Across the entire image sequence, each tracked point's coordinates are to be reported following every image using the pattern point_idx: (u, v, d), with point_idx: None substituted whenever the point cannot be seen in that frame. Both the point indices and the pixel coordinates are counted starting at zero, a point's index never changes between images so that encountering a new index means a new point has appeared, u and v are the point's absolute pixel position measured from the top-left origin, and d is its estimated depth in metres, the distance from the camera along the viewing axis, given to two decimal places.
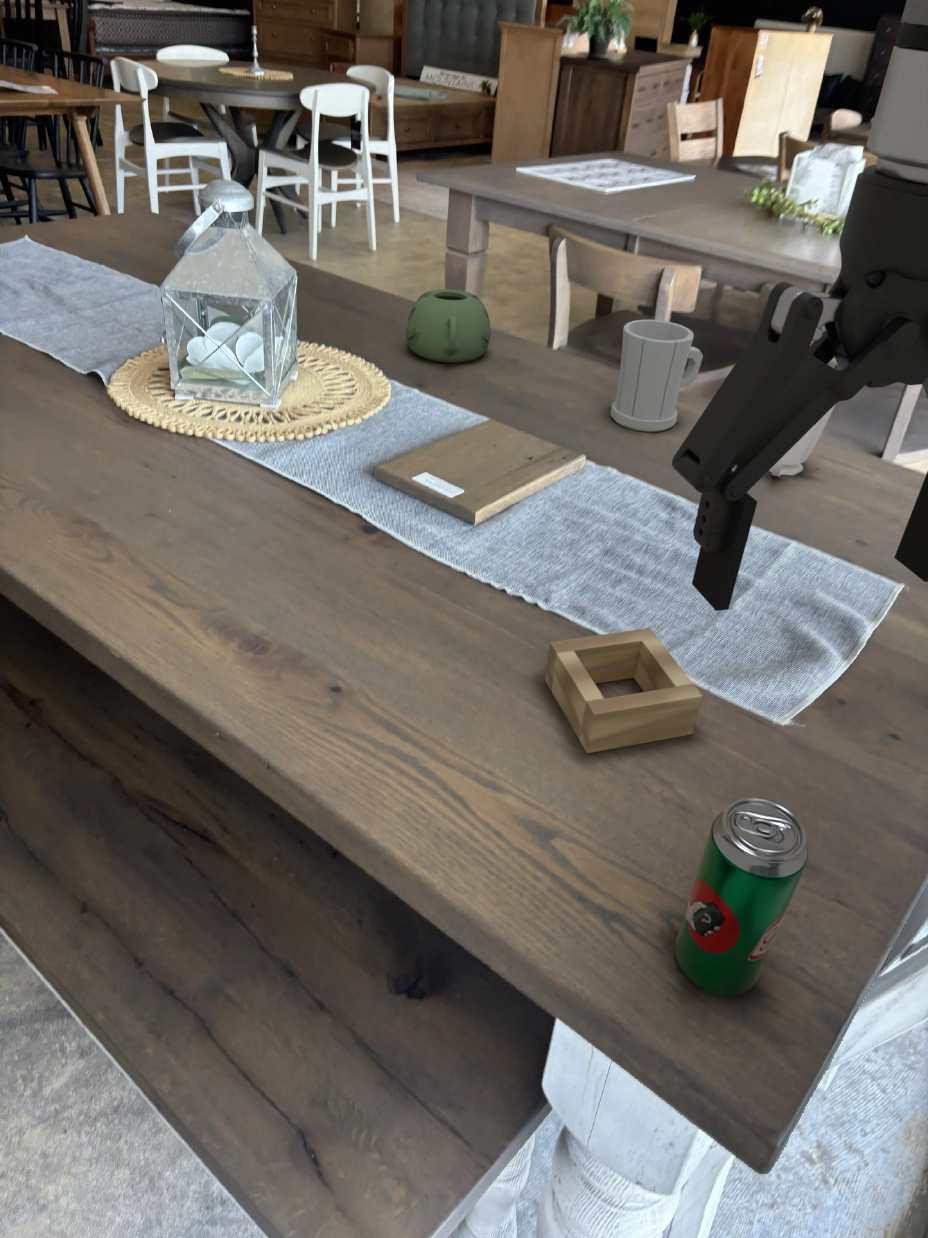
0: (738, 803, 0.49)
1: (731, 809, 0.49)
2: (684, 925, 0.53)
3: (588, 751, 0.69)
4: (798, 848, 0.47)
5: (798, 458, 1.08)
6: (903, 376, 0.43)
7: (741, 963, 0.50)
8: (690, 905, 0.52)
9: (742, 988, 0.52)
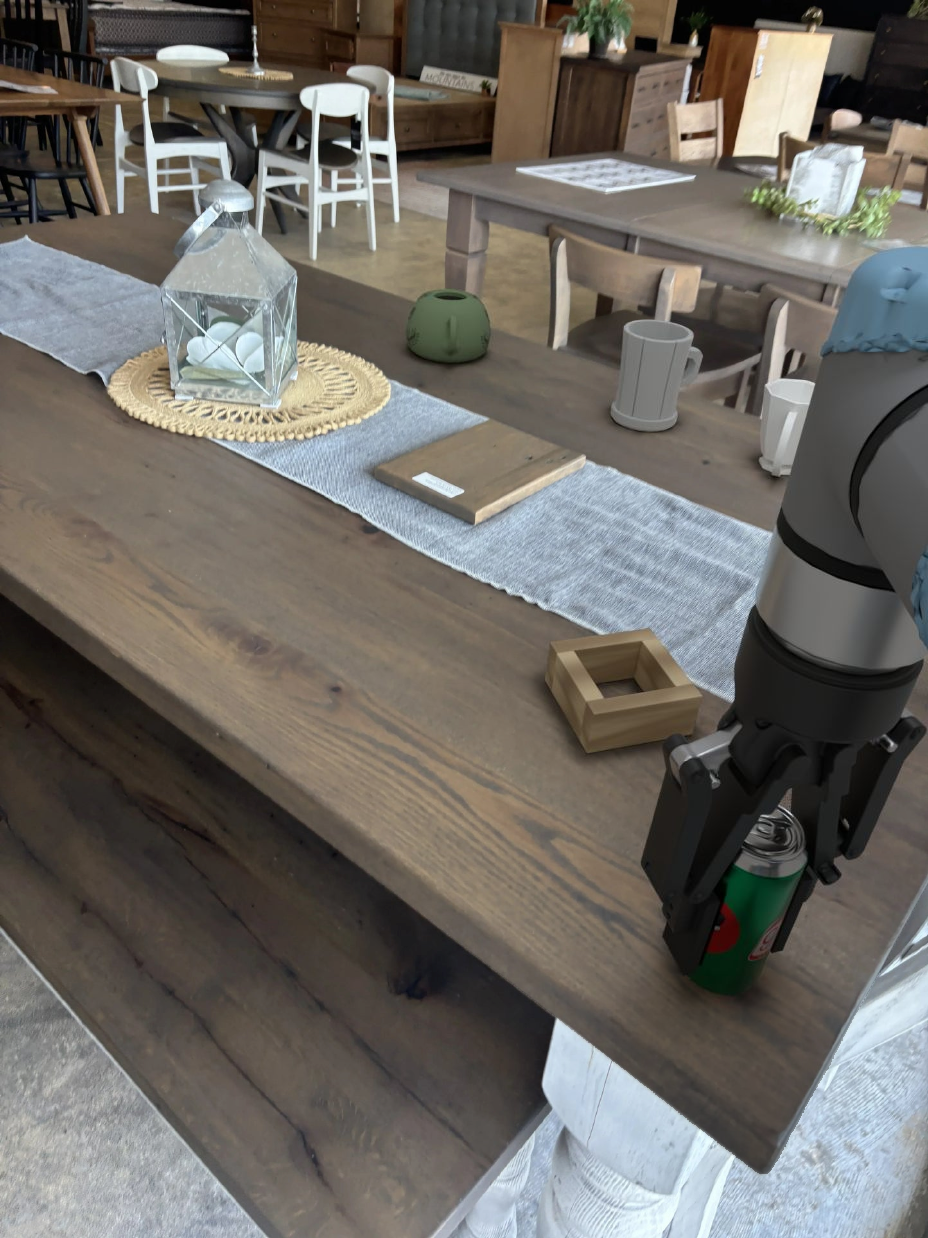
0: None
1: None
2: None
3: (588, 751, 0.69)
4: (799, 848, 0.47)
5: None
6: (800, 782, 0.44)
7: (741, 963, 0.50)
8: None
9: (742, 988, 0.52)
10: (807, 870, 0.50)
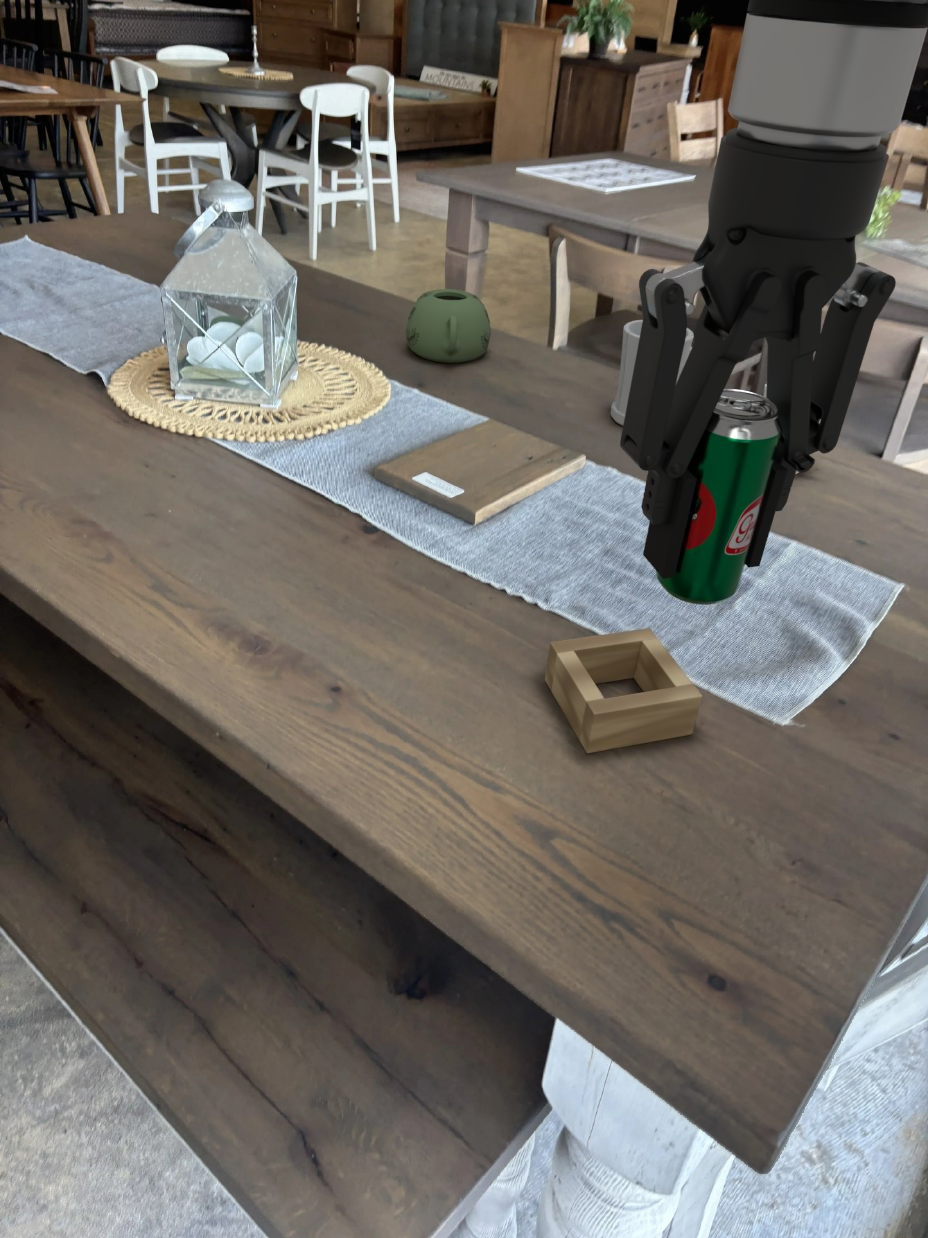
0: None
1: None
2: None
3: (588, 751, 0.69)
4: (772, 415, 0.48)
5: None
6: (773, 330, 0.46)
7: (718, 557, 0.52)
8: None
9: (719, 593, 0.54)
10: (782, 465, 0.52)
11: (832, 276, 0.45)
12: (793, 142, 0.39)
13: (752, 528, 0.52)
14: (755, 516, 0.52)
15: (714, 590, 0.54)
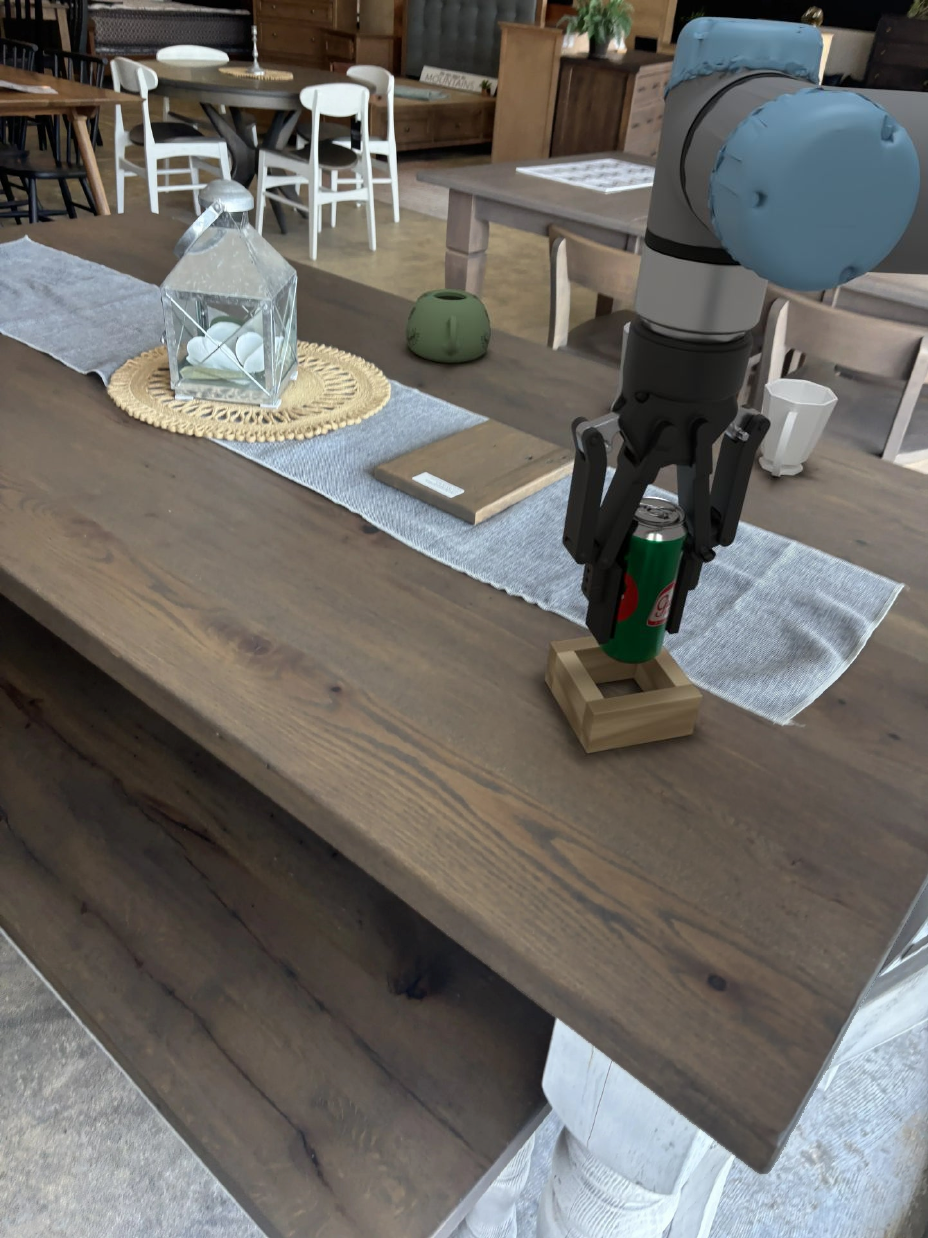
0: None
1: None
2: None
3: (588, 751, 0.69)
4: (679, 521, 0.62)
5: (798, 458, 1.08)
6: (676, 460, 0.60)
7: (641, 628, 0.66)
8: None
9: (644, 655, 0.67)
10: (692, 556, 0.65)
11: (719, 420, 0.59)
12: (678, 336, 0.53)
13: (668, 605, 0.66)
14: (670, 596, 0.65)
15: (640, 653, 0.67)
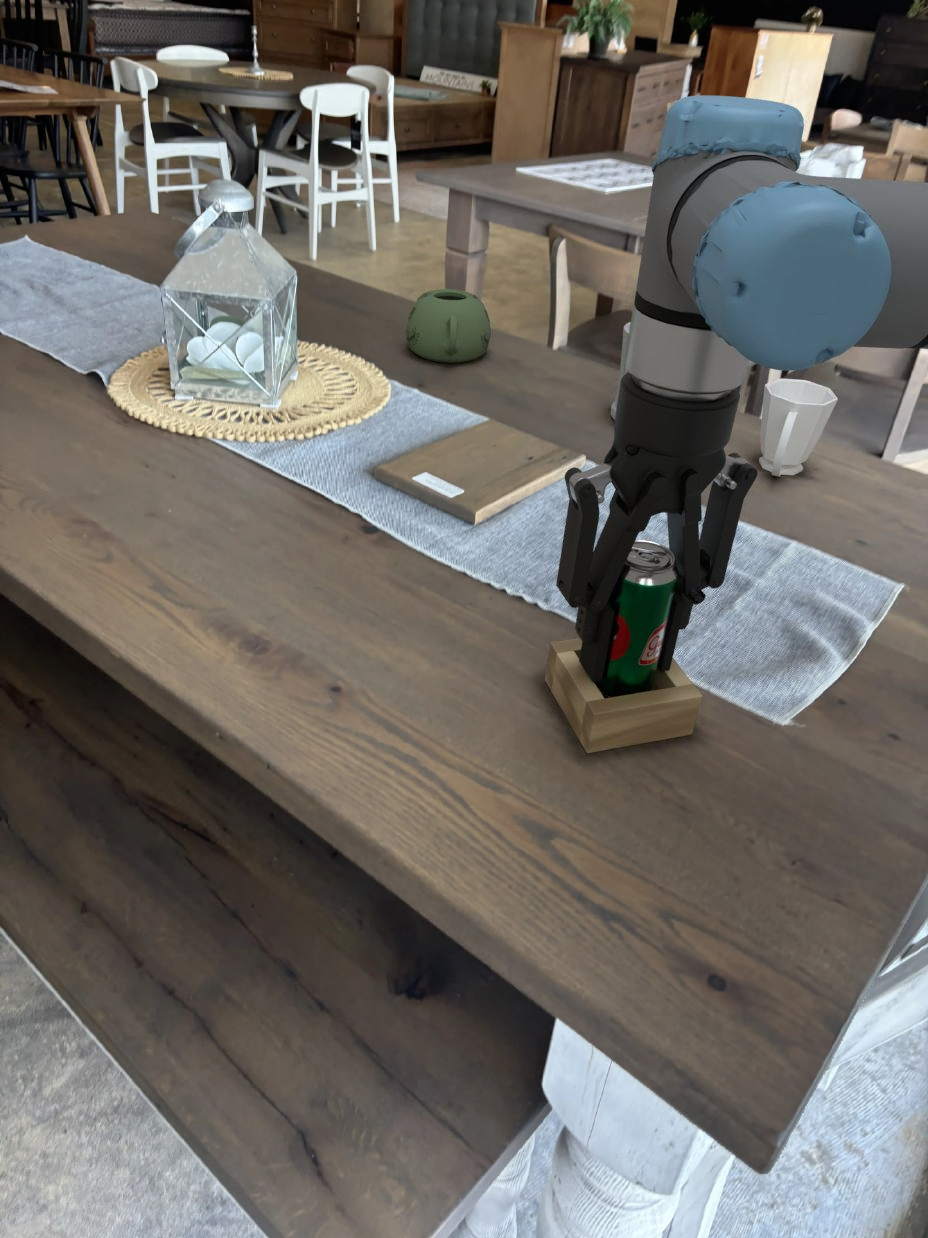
0: None
1: None
2: None
3: (588, 751, 0.69)
4: (669, 566, 0.64)
5: (798, 458, 1.08)
6: (666, 508, 0.62)
7: (633, 667, 0.68)
8: None
9: (637, 692, 0.69)
10: (682, 597, 0.67)
11: (708, 471, 0.61)
12: (667, 395, 0.55)
13: (660, 645, 0.68)
14: (661, 636, 0.67)
15: (632, 690, 0.69)
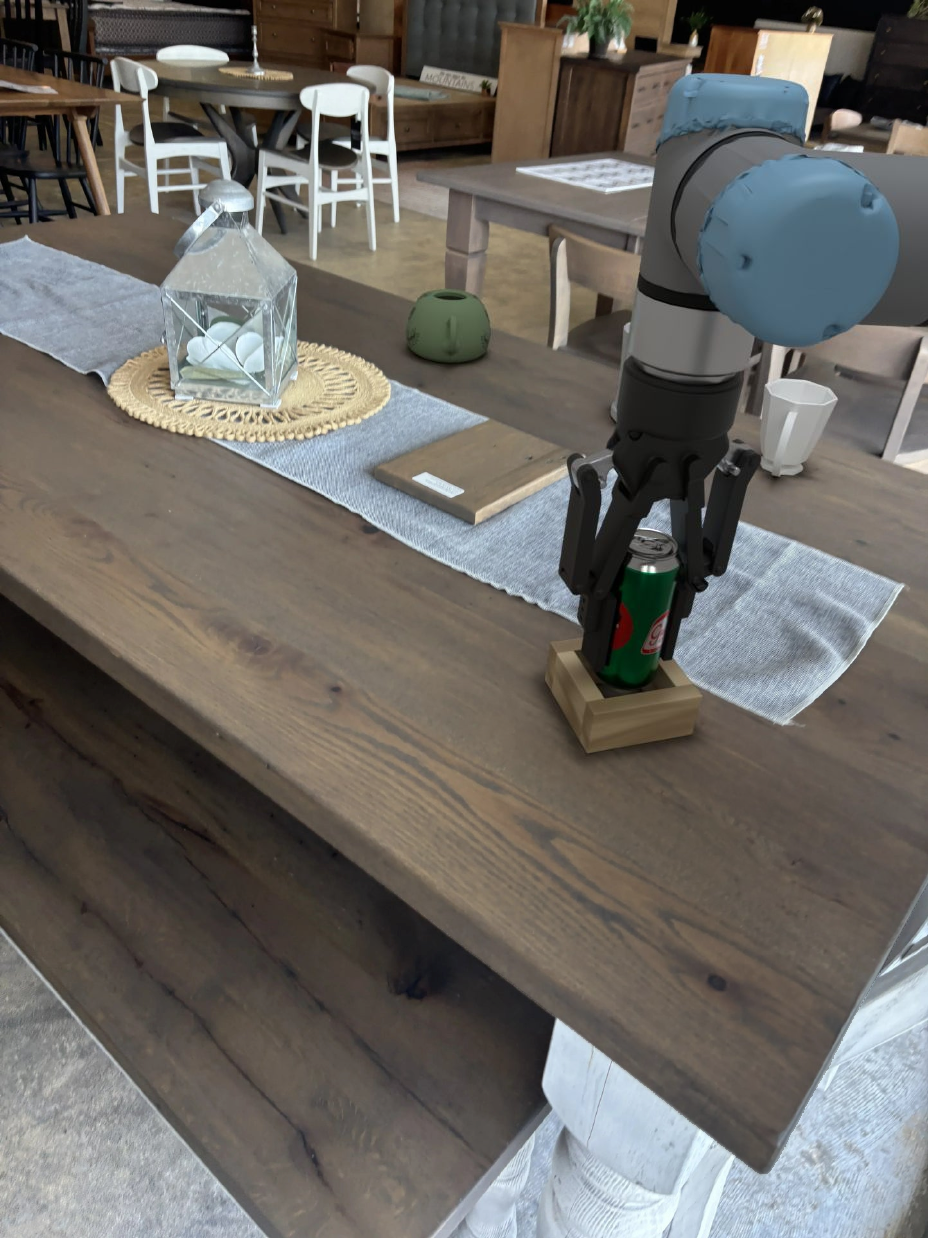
0: None
1: None
2: None
3: (588, 751, 0.69)
4: (672, 553, 0.63)
5: (798, 458, 1.08)
6: (669, 494, 0.61)
7: (636, 656, 0.67)
8: None
9: (639, 682, 0.69)
10: (685, 585, 0.67)
11: (711, 456, 0.60)
12: (670, 378, 0.54)
13: (662, 634, 0.67)
14: (664, 625, 0.67)
15: (635, 680, 0.69)
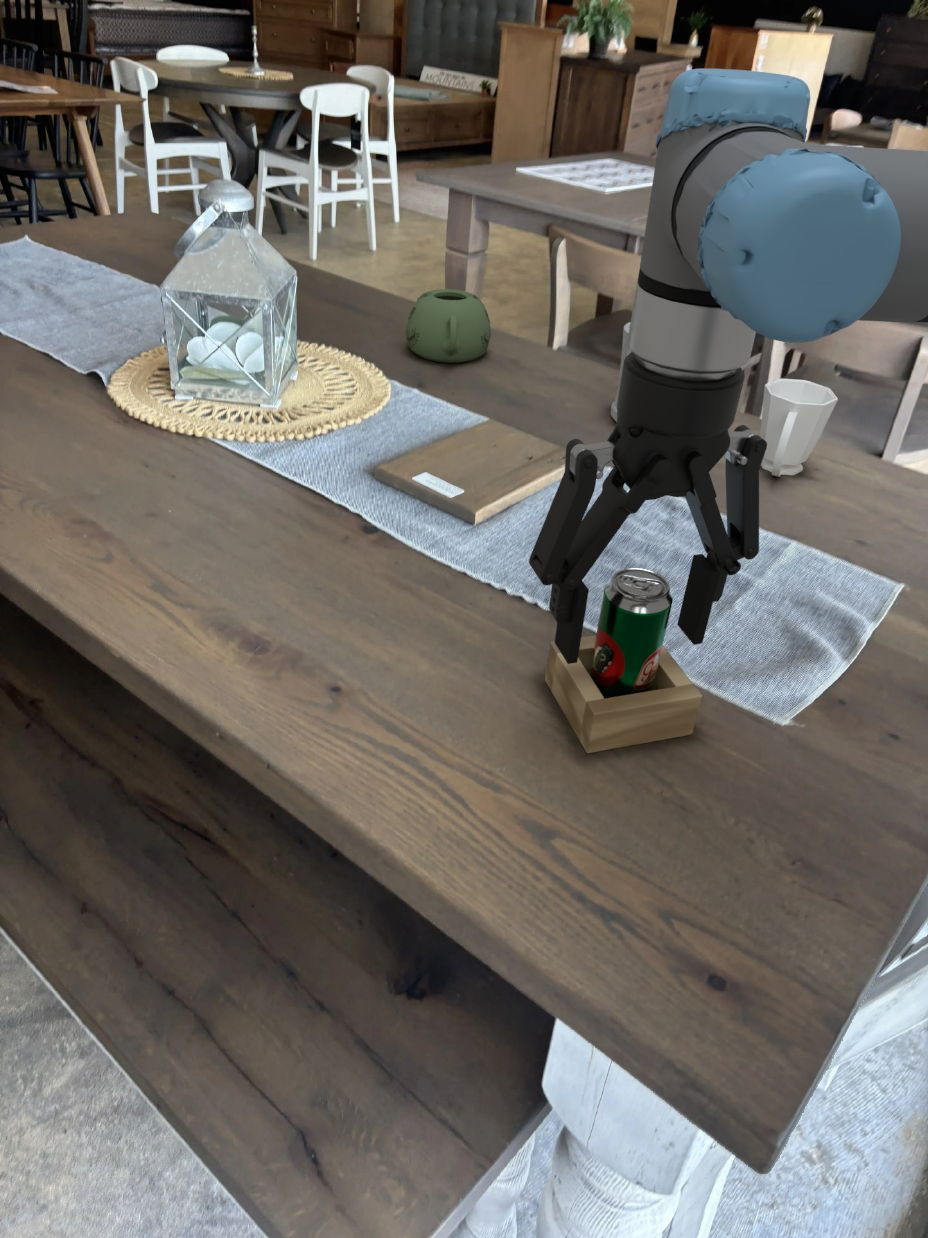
0: (624, 570, 0.68)
1: (618, 574, 0.67)
2: (590, 672, 0.71)
3: (588, 751, 0.69)
4: (663, 594, 0.65)
5: (798, 458, 1.08)
6: (669, 492, 0.61)
7: (628, 692, 0.69)
8: (593, 654, 0.70)
9: None
10: (716, 568, 0.67)
11: (713, 454, 0.60)
12: (671, 374, 0.54)
13: (654, 670, 0.69)
14: (655, 662, 0.69)
15: None
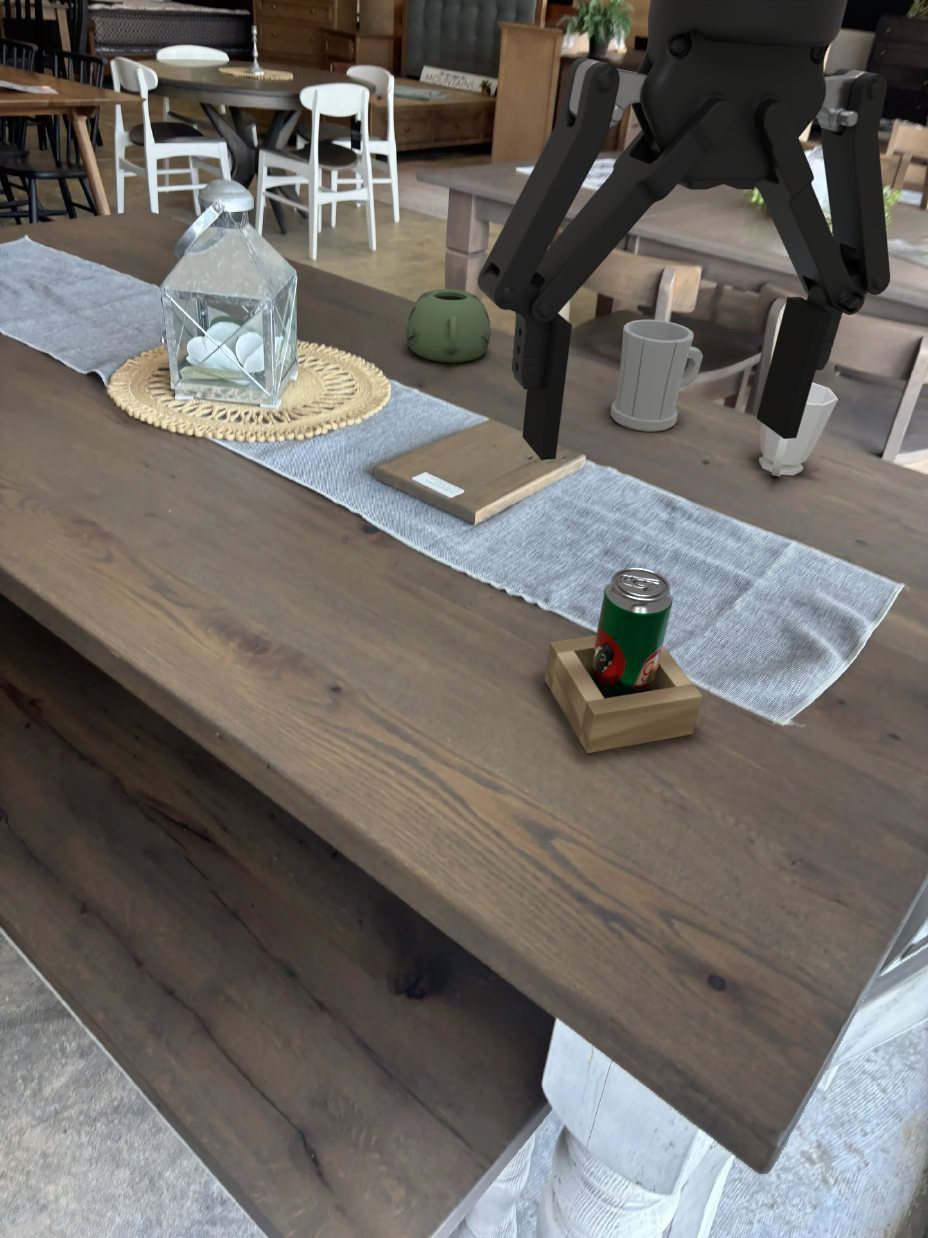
0: (624, 570, 0.68)
1: (619, 574, 0.67)
2: (590, 672, 0.71)
3: (588, 751, 0.69)
4: (663, 594, 0.65)
5: (798, 458, 1.08)
6: (728, 177, 0.39)
7: (628, 692, 0.69)
8: (593, 654, 0.70)
9: None
10: (825, 309, 0.44)
11: (801, 112, 0.38)
12: None
13: (654, 670, 0.69)
14: (656, 662, 0.69)
15: None
